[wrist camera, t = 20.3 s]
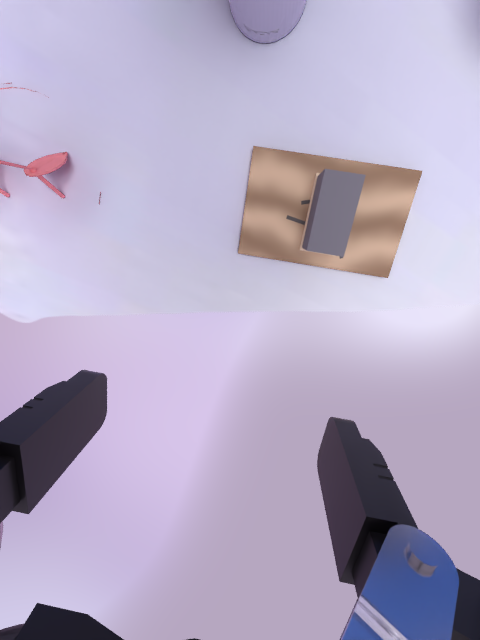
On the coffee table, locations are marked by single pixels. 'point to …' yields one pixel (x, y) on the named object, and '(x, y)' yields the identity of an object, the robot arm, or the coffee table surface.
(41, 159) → the figurine
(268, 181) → the oak board
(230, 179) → the coffee table surface
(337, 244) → the sanding block
